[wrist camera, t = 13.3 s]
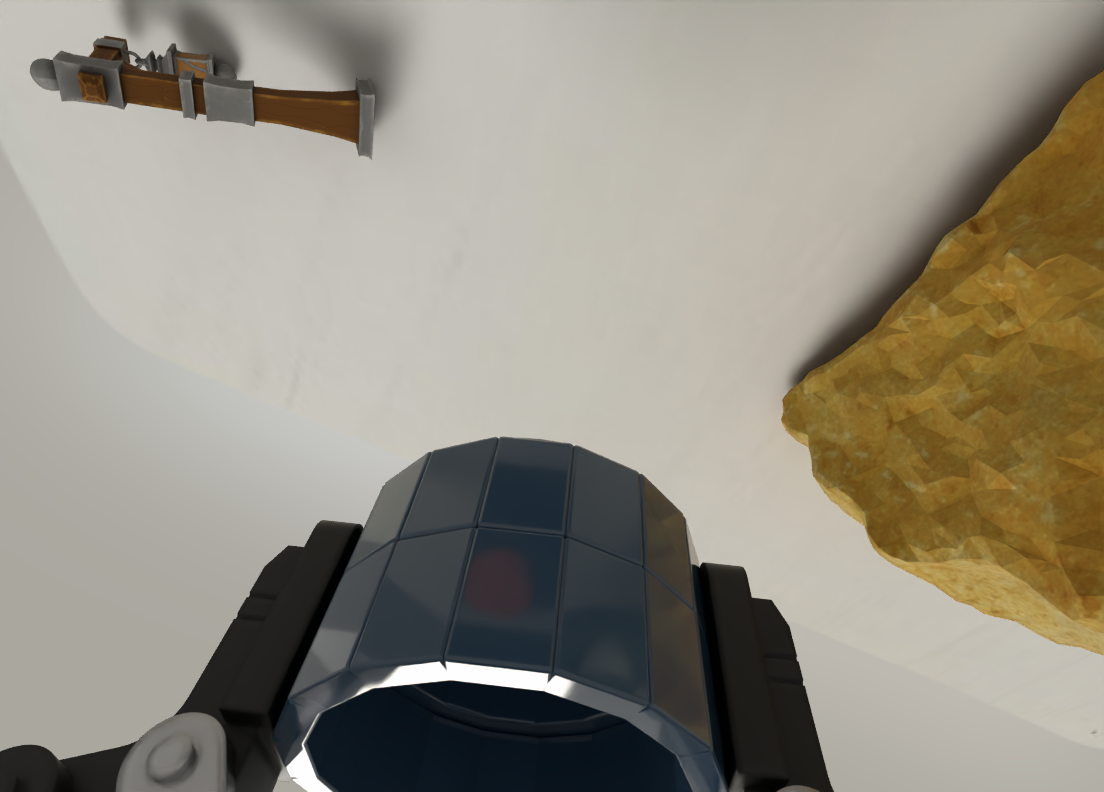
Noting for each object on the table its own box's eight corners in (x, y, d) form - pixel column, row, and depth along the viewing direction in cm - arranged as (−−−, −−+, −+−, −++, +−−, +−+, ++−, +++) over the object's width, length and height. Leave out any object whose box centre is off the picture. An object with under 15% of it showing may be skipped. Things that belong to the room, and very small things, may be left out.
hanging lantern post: (62, 4, 17) (7, 37, 14) (362, 58, 20) (376, 96, 17) (78, 74, 18) (30, 121, 15) (360, 116, 21) (373, 162, 18)
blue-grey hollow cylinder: (393, 617, 14) (316, 840, 11) (358, 401, 11) (219, 632, 7) (663, 648, 14) (679, 887, 10) (725, 438, 10) (784, 699, 7)
